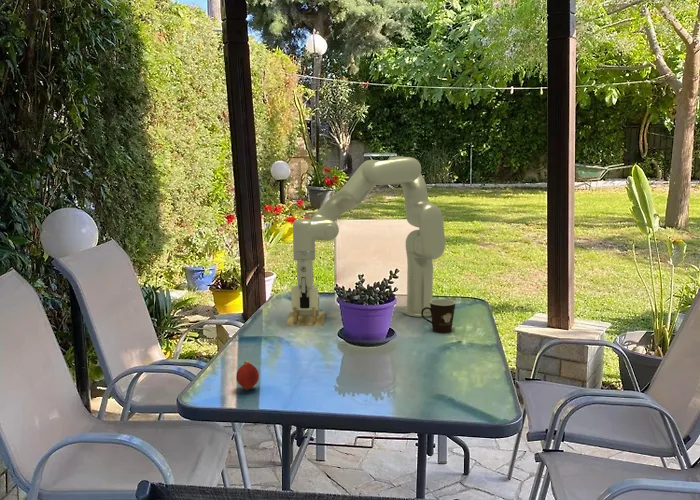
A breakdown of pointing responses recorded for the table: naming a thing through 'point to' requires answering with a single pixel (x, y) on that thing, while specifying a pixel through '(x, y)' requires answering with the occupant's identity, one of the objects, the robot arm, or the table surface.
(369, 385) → the table surface
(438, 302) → the coffee mug
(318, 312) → the plate
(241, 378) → the onion
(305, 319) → the dish rack
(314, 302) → the cream rectangular slab
